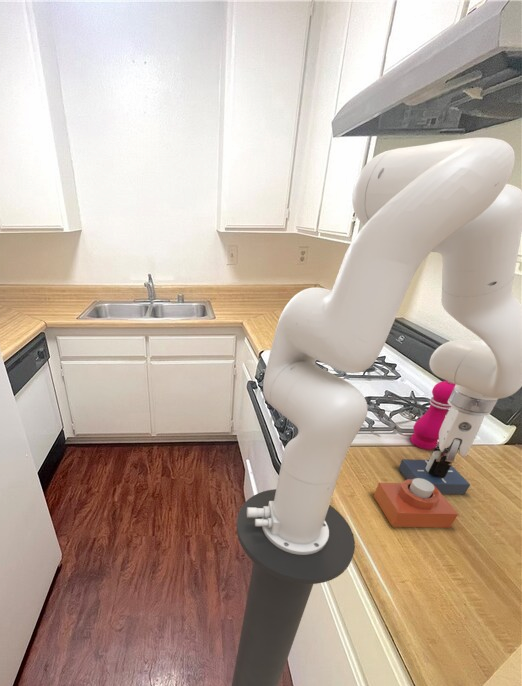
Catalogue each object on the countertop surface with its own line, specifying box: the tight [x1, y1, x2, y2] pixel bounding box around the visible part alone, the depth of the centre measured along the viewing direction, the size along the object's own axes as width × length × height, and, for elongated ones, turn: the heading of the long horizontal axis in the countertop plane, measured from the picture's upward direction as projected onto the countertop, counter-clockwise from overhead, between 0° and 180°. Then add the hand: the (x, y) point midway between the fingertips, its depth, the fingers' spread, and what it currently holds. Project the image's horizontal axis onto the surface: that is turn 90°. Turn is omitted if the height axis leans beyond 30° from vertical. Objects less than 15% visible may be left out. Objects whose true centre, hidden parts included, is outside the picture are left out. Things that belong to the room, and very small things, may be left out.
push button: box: [409, 478, 434, 498], centre depth 71 cm, size 4×4×2 cm
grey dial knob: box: [426, 450, 447, 473], centre depth 80 cm, size 4×4×5 cm
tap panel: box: [398, 458, 471, 495], centre depth 82 cm, size 11×9×3 cm
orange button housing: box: [373, 479, 459, 529], centre depth 73 cm, size 12×9×6 cm
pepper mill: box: [410, 380, 456, 450], centre depth 91 cm, size 7×7×20 cm
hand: (436, 468), depth 81 cm, fingers closed on grey dial knob, 4 cm apart
